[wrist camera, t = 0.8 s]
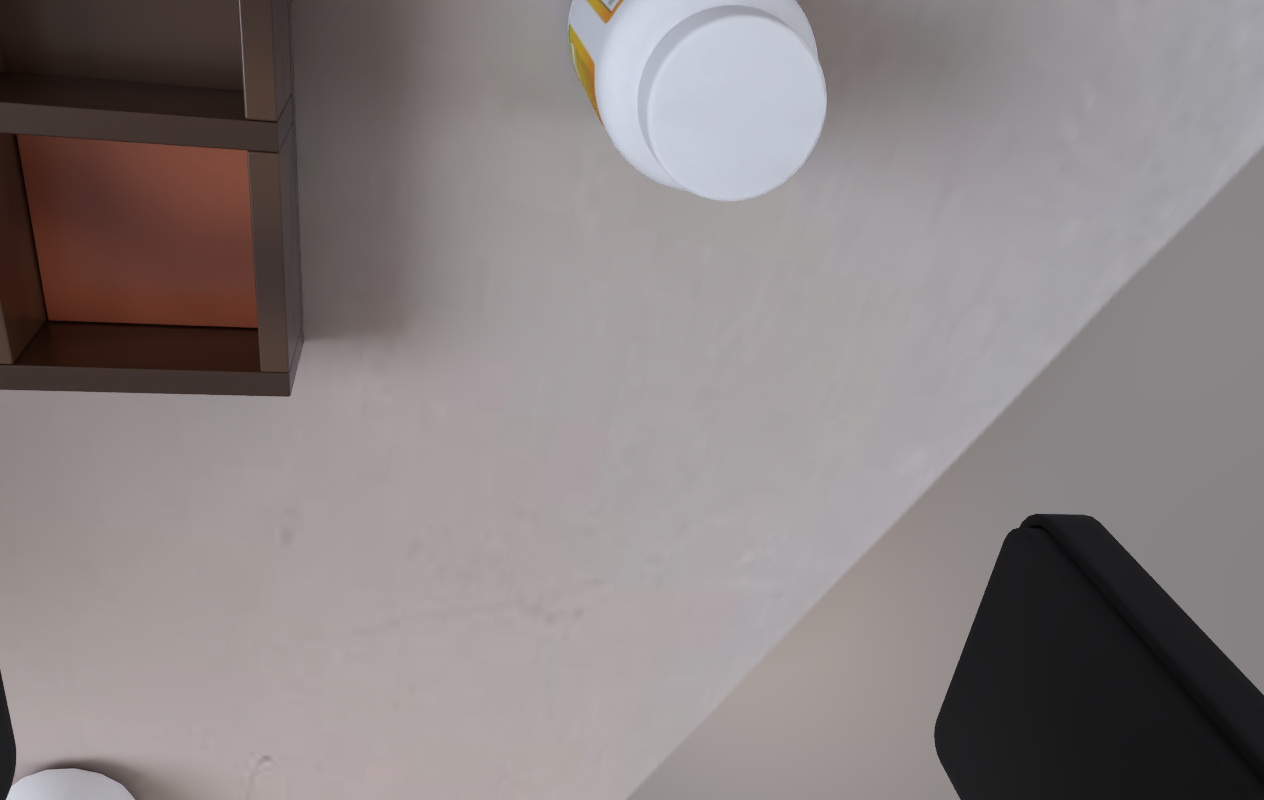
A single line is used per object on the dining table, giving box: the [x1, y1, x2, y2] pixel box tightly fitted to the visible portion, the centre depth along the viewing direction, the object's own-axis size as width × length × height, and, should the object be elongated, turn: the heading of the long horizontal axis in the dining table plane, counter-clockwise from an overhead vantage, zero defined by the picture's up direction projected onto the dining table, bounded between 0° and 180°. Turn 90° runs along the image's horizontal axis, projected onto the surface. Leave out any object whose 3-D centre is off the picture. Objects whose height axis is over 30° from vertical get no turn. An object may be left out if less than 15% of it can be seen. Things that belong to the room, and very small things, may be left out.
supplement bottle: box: [568, 0, 827, 201], centre depth 26 cm, size 5×5×10 cm
